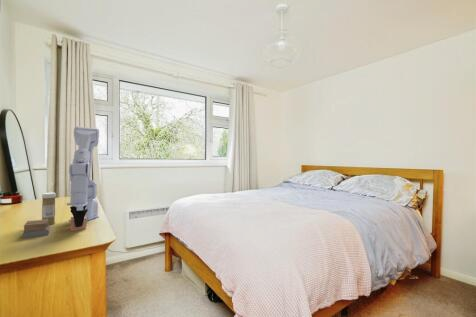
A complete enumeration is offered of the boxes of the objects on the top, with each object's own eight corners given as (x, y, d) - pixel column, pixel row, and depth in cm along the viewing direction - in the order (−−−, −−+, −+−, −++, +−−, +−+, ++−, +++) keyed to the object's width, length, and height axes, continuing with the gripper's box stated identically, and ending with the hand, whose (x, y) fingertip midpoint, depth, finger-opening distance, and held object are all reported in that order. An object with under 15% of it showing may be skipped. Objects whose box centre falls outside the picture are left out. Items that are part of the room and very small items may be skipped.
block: (70, 228, 94) (70, 217, 94) (84, 226, 97) (85, 215, 97) (70, 231, 90) (71, 219, 90) (86, 229, 93) (86, 218, 93)
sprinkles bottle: (55, 222, 101) (56, 192, 101) (53, 224, 97) (54, 193, 97) (42, 223, 99) (43, 192, 99) (39, 226, 95) (40, 194, 95)
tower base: (25, 234, 86) (25, 227, 86) (49, 231, 90) (49, 224, 90) (22, 239, 81) (22, 232, 81) (48, 236, 85) (48, 229, 85)
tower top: (27, 227, 86) (27, 221, 86) (47, 225, 90) (48, 219, 90) (23, 232, 81) (24, 225, 81) (45, 229, 85) (45, 223, 85)
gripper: (66, 190, 97) (65, 222, 97) (67, 195, 85) (66, 231, 85) (86, 189, 101) (85, 219, 101) (89, 193, 90) (88, 227, 90)
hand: (78, 224), depth 93 cm, fingers open, 6 cm apart
